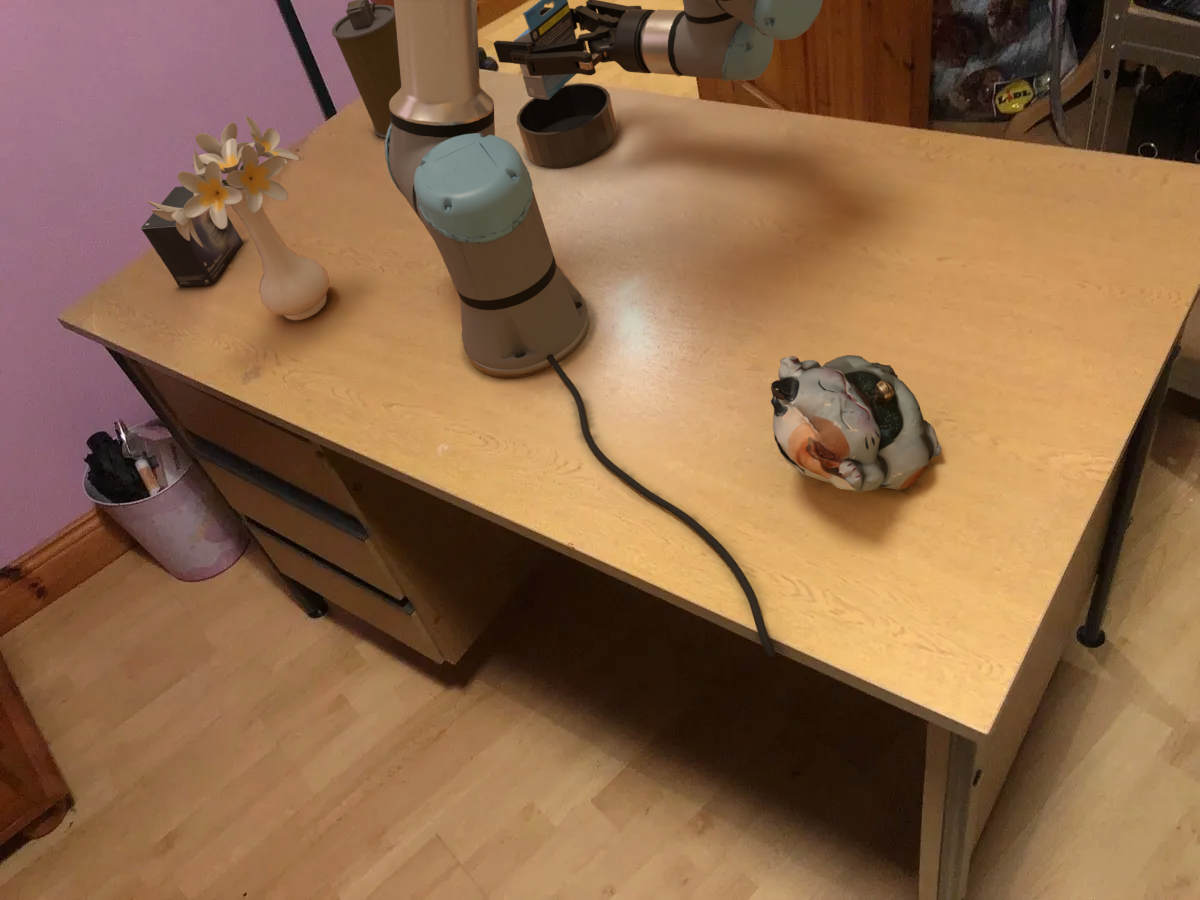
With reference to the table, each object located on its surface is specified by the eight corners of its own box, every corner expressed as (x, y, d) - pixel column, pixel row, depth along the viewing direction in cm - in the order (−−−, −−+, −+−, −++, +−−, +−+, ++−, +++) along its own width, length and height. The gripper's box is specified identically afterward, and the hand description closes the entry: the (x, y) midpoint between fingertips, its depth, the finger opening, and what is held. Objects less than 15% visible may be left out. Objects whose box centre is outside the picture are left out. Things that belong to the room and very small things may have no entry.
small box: (215, 286, 137) (176, 225, 129) (178, 288, 139) (137, 229, 131) (246, 241, 143) (210, 181, 136) (210, 244, 145) (172, 185, 138)
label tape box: (563, 66, 138) (540, -19, 129) (585, 69, 135) (563, -18, 127) (528, 98, 134) (501, 12, 125) (550, 101, 131) (524, 13, 123)
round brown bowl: (637, 126, 140) (629, 92, 136) (573, 177, 134) (563, 142, 130) (571, 110, 148) (562, 76, 144) (508, 156, 143) (497, 123, 139)
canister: (430, 131, 154) (382, 9, 140) (371, 144, 156) (317, 25, 141) (438, 99, 161) (393, -20, 147) (381, 112, 163) (331, -5, 149)
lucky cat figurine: (962, 481, 84) (922, 437, 73) (841, 538, 89) (786, 505, 78) (893, 347, 91) (846, 288, 80) (783, 407, 96) (725, 359, 85)
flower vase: (226, 345, 126) (114, 183, 108) (315, 261, 135) (226, 99, 117) (292, 364, 119) (185, 196, 102) (381, 274, 129) (298, 105, 111)
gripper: (616, 114, 118) (480, 99, 129) (699, 29, 128) (567, 22, 140) (602, 56, 113) (462, 46, 124) (690, -28, 123) (553, -29, 134)
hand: (518, 34), depth 132 cm, fingers closed on label tape box, 9 cm apart
